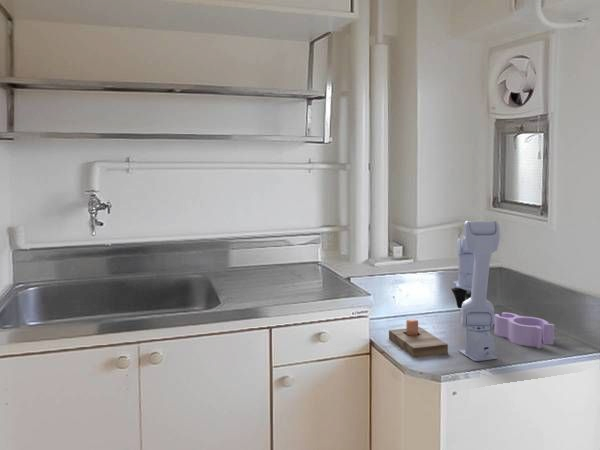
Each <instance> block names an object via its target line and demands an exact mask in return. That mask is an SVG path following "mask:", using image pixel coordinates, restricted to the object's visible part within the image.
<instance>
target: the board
mask: <svg viewBox="0 0 600 450" xmlns="http://www.w3.org/2000/svg"><path fill="white" fill-rule="evenodd" d="M388 339H389V340H390V341H392V342H393V343H394V344H395V345H397V346H398V347H399V348H401V349H402V350H404V351H405V352H406V353H408V354H409V355H410V356H411V357H413V358H419V357H428V356H435V355H436V356H437V355H444V354H446V355H447V354H448V353H449V351H448V350H449V344H448V343H446V342H445V341H443V340H441V339H440V338H438V337H437V336H435V335H434V334H432V333H430V331H429V332H428V331H427V330H425V328H422V327H421V326H418V335H417V336H407V335H406V328H397V329H390V330H389V329H388Z"/></svg>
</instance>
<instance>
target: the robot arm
mask: <svg viewBox="0 0 600 450" xmlns="http://www.w3.org/2000/svg"><path fill="white" fill-rule="evenodd" d="M462 229H463V230H462V231H463V232H462V234H463V236H462V238H457V241H456V252H457V255H458V264H457V265H458V271H457V272H458V273H457V275H458V278H457V279H458V280H454V281H453V287H452V288H451V291H452V293H453V295H454V298H455V301H456V307H457V308H458V309H460V311H459V321H460V325H461V326H462V327H464V349H460V350H459V353H461V354H463V355H464V356H466V357H467V358H469V359H470V360H472V361H474V362H481V361H488V360H489V361H490V360H496V359H497V358H498V357H497V356H495V355H496V354H495V351H496V349H495V348H496V347H495V346H496V345H495V344H496V343H495V342H496V341H495V339H496V338H495V337H494V336H493V335H492V333H491V332H490V331H491V328H493V326H495V308H494V305H493V303H492V302H491V301H490V300H488V299H487V293H488V284H489V276H490V275H489V272H490V263H491V259H492V254H493V253H495V252H496V251H498V248H499V242H500V225H499V223H498V221H497V220H491V221H484V220H483V221H482V220H481V221H469V220H465V221H464V223H463V228H462ZM467 291H469V292H470V293H467ZM466 293H467V294H466ZM465 296H466V298H467V300H465Z"/></svg>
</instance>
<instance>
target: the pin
mask: <svg viewBox="0 0 600 450" xmlns="http://www.w3.org/2000/svg"><path fill="white" fill-rule="evenodd" d="M405 324H406V327H405V329H406V335H407V336H417V335H418V327H419V320H418V319H415V318H413V319H412V318H409V319H406V323H405Z"/></svg>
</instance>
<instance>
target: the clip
mask: <svg viewBox="0 0 600 450" xmlns="http://www.w3.org/2000/svg"><path fill="white" fill-rule="evenodd" d="M494 317H495V320H494V325H493V326H494V329H493V331H494V334H495V336H497V337H498V336H499V337H501V338H506V339H508V340H509V342H511V343H512V344H515V345H519V346H523V345H524V346H525V347H535V348H537V349H542V344H545V345H552V346H553V345H554V344H555V343H554V341H555V324H554V323H549V321H547V320H545V319H542V318H539V317H533V316H523V315H519V314H518V313H517V314H516V313H513V312H505V311H504V312H501V316H500V314H499V313H498V314H497V313H494ZM542 342H543V343H542Z"/></svg>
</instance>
